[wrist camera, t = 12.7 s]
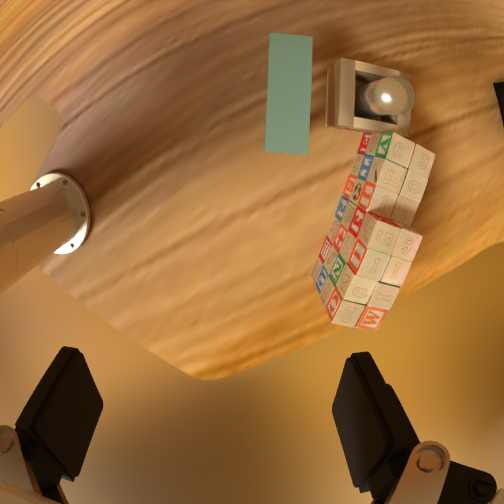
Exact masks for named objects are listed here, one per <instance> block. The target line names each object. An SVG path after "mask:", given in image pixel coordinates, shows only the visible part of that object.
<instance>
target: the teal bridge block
mask: <svg viewBox="0 0 504 504" xmlns="http://www.w3.org/2000/svg"><path fill="white" fill-rule="evenodd" d="M312 42H313V37H310V36H302V35H294V34H284V33H271V32H270V35H269V55H268V78H267V101H266V123H265V144H264V152H272V153H287V154H301V155H308V144H309V127H310V107H311V82H312Z"/></svg>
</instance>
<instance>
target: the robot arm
mask: <svg viewBox="0 0 504 504" xmlns="http://www.w3.org/2000/svg"><path fill="white" fill-rule="evenodd" d="M90 220H91V217H90V208H89V203H88V200H87V198H86V195H85V193H84V191H83V189H82V188H81V187H80V185H79V184H78V183H77V182H76V181H75V180H74V179H73V178H72V177H70V176H68V175H66V174H64V173H60V172H53V173H49V174H46V175H43V176H42V177H40V178H39V179H37V181H36V182H35V183H34V184H33V186H32V188H31V189H30V191H28V192H25V193H22V194H20V195H17V196H15V197H12V198H9V199H7V200H4V201H2V202H0V295H1V294H2V293H3V292H5V291H6V290H7V289H8V288H9V287H11V286H12V285H13V284H14V283H16V282H17V281H18V280H19V279H20V278H22V277H23V276H24V275H25V274H27V273H28V272H29V271H30V270H32V269H33V268H34V267H36V266H37V265H38V264H40V263H41V262H42V261H44V260H45V259H46V258H48V257H49V256H50V255H52V254H53V253H57V254H67V253H70V252H72V251H74V250H76V249H77V248H78V247H79V246H80V245H82V243H83V242H84V241H85V239H86V237H87V235H88V232H89V228H90ZM102 409H103V400H102V398H101V396H100V394H99V391H98V389H97V387H96V385H95V382H94V380H93V378H92V375H91V373H90V371H89V368H88V366H87V363H86V361H85V358H84V355H83V354H82V353H80V351H79V350H78V349H77V348H72V347H65V346H64V347H62V348H61V350H60V351H59V353H58V354H57V355H56V357H55V358H54V360H53V362H52V363H51V365H50V366H49V368H48V369H47V371H46V372H45V374H44V376H43V377H42V379H41V380H40V382H39V384H38V385H37V387H36V389H35V390H34V392H33V394H32V395H31V397H30V399H29V400H28V402H27V404H26V406H25V407H24V409H23V411H22V413H21V415H20V416H19V418H18V420H17V422H16V423H15V426H16V428H15V430H14V429H13V428H12V427H10V426H7V425H0V504H69V503H68V501H67V499H66V497H65V494H64V492H63V490H62V488H61V485H60V480H61V478H63V479H66V480H69V481H72V482H74V479H75V477H77V476H78V475H79V474H80V471H81V468H82V465H83V462H84V459H85V456H86V453H87V450H88V447H89V444H90V441H91V439H92V436H93V433H94V431H95V428H96V425H97V422H98V420H99V417H100V414H101V412H102ZM332 414H333V417H334V420H335V423H336V427H337V430H338V434H339V437H340V440H341V444H342V447H343V451H344V454H345V457H346V461H347V464H348V468H349V471H350V475H351V478H352V482H353V485H354V487H356V488H357V487H359V490H360V493H363V492H368V491H370V492H371V495H372V498H373V501H372V502H371V504H504V489H502V488H501V489H500V490H497V486H496V481H495V479H494V477H493V476H492V475H491V474H489V473H487V472H484V471H480V470H477V469H474V468H471V467H468V466H465V465H462V464H459V463H456V462H453V461H450V455H449V452H448V450H447V449H446V447H444V446H443V445H442V444H440V443H438V442H435V441H424V442H422V443H420V441H419V439H418V437H417V435H416V433H415V431H414V429H413V427H412V425H411V423H410V421H409V419H408V417H407V415H406V413H405V411H404V409H403V407H402V406H401V403H400V401H399V399H398V397H397V395H396V394H395V392H394V390H393V388H392V387H391V385H389V384H386V383H385V381H384V379H383V377H382V375H381V373H380V371H379V369H378V367H377V366H376V364H375V362H374V360H373V358H372V356H371V354H370V353H369V352H360V353H352V355H351V357H350V358H347V359H346V362H345V366H344V369H343V372H342V376H341V379H340V383H339V386H338V389H337V393H336V396H335V399H334V402H333V405H332Z"/></svg>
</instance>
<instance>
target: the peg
mask: <svg viewBox="0 0 504 504" xmlns="http://www.w3.org/2000/svg"><path fill="white" fill-rule="evenodd" d="M414 105H415V92H414V89H413V87H412V86H411V84H410V83H409V82H408V81H407V80H406V79H404V78H403V77H400V76H397V75H393V76H389V77H386V78H383V79H380V80H377V81H374V82H371V83H368V84H365V85H363V86H360V87H357V88H355V103H354V113H355V114H357V115H359V116H362V117H368V116H381V115H397V114H406V113H408V112H410V111H411V110H412V109H413V107H414Z"/></svg>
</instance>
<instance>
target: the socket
mask: <svg viewBox="0 0 504 504" xmlns="http://www.w3.org/2000/svg"><path fill="white" fill-rule="evenodd" d="M393 75H397V76H400V77H403V78H404V79H406V80H407V81H408V82H409V83H410V84H411V86H412V77H411V74H408V73H404V72H401V71H398V70H394V69H390V68H386V67H383V66H379V65H374V64H370V63H366V62H361V61H357V60H352V59H347V58H340V59H338V60H337V61H336V62H335V63H333V64H332V65H331V66H330V67H328V68H327V94H326V116H325V127H332V128H339V129H346V130H353V131H360V132H381V133H382V132H394V133H396V134H398V135H400V136H402V137H406V138H410V122H411V111H410V112H408V113H406V114H397V115H381V116H368V117H362V116H359V115H357V114H355V113H354V103H355V88H357V87H360V86H363V85H365V84H368V83H371V82H374V81H377V80H380V79H383V78H386V77H389V76H393Z"/></svg>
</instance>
